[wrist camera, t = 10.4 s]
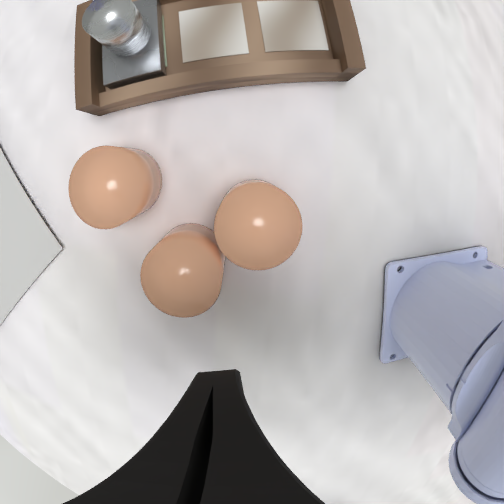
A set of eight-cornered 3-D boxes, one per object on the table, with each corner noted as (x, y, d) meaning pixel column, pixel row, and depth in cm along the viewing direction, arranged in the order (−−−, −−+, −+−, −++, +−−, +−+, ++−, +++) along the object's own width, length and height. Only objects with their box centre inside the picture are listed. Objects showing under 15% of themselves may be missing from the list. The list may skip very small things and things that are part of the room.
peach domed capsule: (285, 175, 17) (297, 179, 14) (291, 243, 18) (305, 264, 15) (215, 184, 17) (208, 189, 13) (224, 252, 18) (221, 275, 15)
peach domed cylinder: (156, 142, 16) (134, 137, 13) (167, 209, 18) (148, 222, 14) (96, 157, 16) (63, 157, 13) (106, 220, 18) (77, 235, 14)
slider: (161, 4, 13) (140, -36, 8) (166, 75, 14) (141, 47, 10) (110, 18, 13) (77, -14, 8) (111, 89, 14) (73, 69, 10)
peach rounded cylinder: (219, 218, 18) (214, 234, 14) (229, 283, 19) (227, 312, 15) (154, 228, 18) (132, 246, 14) (167, 290, 19) (151, 320, 15)
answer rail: (326, -11, 14) (339, -33, 11) (347, 81, 16) (365, 68, 13) (96, 22, 14) (77, 5, 11) (99, 116, 16) (76, 109, 13)
